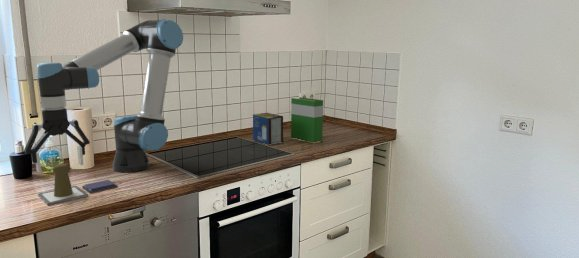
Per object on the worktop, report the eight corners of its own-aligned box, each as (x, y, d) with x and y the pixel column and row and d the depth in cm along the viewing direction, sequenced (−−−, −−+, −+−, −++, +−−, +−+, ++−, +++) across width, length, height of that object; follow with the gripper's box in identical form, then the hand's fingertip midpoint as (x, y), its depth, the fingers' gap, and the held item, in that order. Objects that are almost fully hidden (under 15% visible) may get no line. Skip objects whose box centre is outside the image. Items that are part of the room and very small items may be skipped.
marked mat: (76, 187, 158) (76, 185, 158) (88, 196, 149) (88, 194, 149) (37, 195, 150) (37, 193, 149) (47, 205, 140) (47, 203, 140)
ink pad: (109, 182, 165) (109, 178, 164) (117, 187, 159) (117, 183, 159) (82, 187, 158) (82, 184, 158) (89, 193, 152) (89, 189, 152)
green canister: (291, 139, 244) (291, 98, 240) (299, 137, 250) (300, 97, 245) (313, 144, 232) (314, 101, 228) (322, 142, 237) (323, 100, 233)
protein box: (267, 138, 246) (267, 112, 243) (283, 143, 234) (283, 116, 231) (252, 140, 239) (252, 114, 236) (268, 145, 227) (268, 117, 224)
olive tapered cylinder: (76, 191, 152) (73, 162, 150) (67, 197, 147) (64, 166, 144) (59, 191, 152) (56, 162, 150) (50, 197, 146) (47, 166, 144)
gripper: (88, 103, 154) (93, 159, 159) (8, 110, 137) (17, 172, 142) (95, 105, 149) (101, 163, 153) (14, 113, 132) (22, 177, 136)
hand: (60, 167), depth 147 cm, fingers open, 13 cm apart
